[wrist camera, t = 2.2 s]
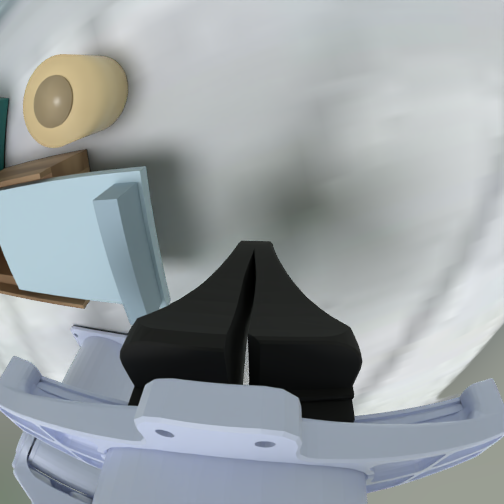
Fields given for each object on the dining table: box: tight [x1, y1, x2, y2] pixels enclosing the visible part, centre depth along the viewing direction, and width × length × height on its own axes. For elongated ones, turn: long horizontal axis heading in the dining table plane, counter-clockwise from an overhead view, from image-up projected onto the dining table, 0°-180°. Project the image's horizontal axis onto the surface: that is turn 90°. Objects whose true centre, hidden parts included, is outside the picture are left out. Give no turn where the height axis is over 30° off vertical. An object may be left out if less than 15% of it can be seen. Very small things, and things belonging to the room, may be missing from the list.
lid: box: [0, 166, 170, 325], centre depth 13 cm, size 8×13×3 cm, turn 91°
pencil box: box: [0, 149, 90, 309], centre depth 16 cm, size 9×14×5 cm, turn 91°
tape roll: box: [23, 54, 128, 148], centre depth 12 cm, size 5×5×4 cm
